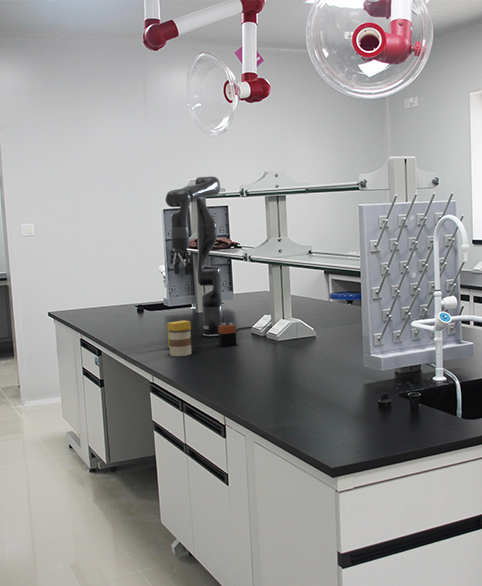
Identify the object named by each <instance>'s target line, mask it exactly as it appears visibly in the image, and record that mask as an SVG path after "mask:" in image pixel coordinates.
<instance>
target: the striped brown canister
mask: <svg viewBox="0 0 482 586" xmlns="http://www.w3.org/2000/svg"><path fill="white" fill-rule="evenodd" d="M168 332H169V348H168V350H169V356H171V357H186V356H190V355H192V351H193V350H192V334H191V333H192V328H191V329H184V330H178V331H171V330H168Z"/></svg>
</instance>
